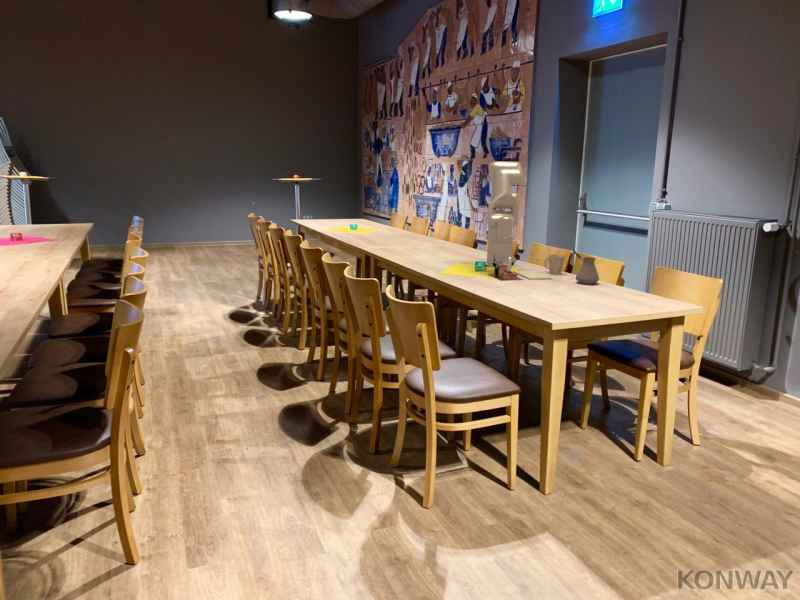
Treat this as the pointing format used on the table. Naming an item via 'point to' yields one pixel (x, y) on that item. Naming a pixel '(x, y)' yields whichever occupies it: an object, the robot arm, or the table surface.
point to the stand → (507, 271)
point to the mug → (555, 264)
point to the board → (532, 275)
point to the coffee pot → (587, 271)
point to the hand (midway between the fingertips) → (502, 274)
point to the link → (504, 273)
